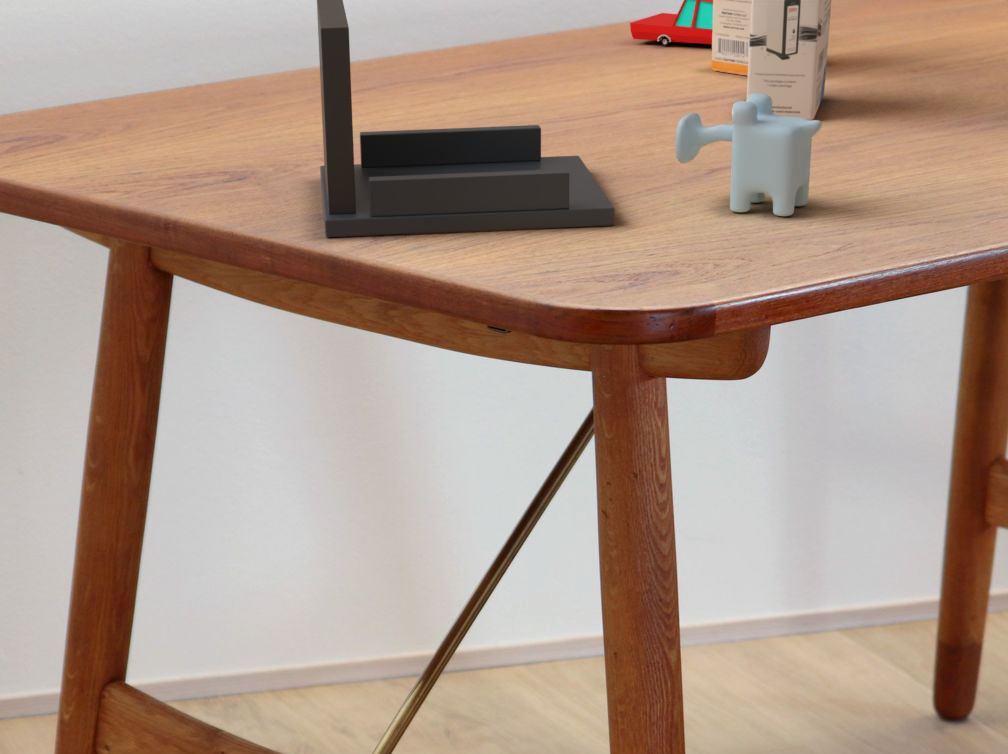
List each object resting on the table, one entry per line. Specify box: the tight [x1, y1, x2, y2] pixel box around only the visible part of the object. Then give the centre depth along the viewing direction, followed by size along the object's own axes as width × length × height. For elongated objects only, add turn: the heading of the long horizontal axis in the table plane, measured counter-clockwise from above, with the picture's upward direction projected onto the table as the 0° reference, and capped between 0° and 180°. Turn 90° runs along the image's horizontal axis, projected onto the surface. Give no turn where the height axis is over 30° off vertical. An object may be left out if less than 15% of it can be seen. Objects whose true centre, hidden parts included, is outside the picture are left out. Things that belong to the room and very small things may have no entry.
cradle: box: [316, 0, 616, 238], centre depth 110 cm, size 14×16×11 cm
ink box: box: [745, 0, 832, 120], centre depth 133 cm, size 9×5×12 cm, turn 163°
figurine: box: [674, 93, 823, 217], centre depth 109 cm, size 4×8×6 cm, turn 62°
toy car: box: [629, 0, 713, 47], centre depth 162 cm, size 6×12×4 cm, turn 57°
